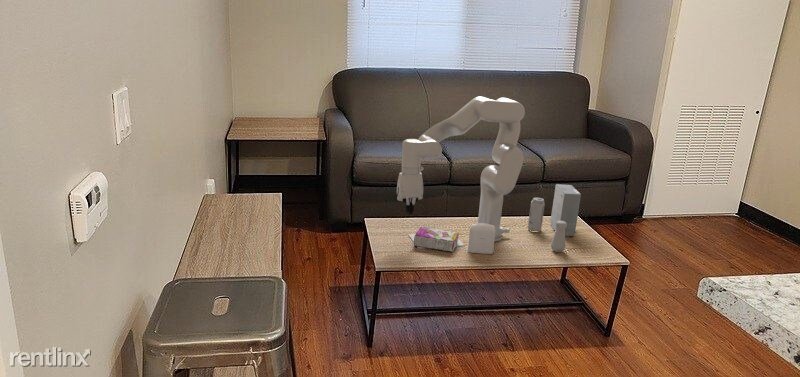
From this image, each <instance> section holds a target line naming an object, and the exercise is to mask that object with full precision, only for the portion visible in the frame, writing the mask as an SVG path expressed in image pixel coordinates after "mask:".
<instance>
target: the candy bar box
mask: <svg viewBox="0 0 800 377" xmlns="http://www.w3.org/2000/svg"><path fill="white" fill-rule="evenodd" d="M414 234H415V236H414V242H413V246H414V247H417V246H419V247H425V248H424V249H433V250H439V251H445V252H450V253H453V252H454V250H455V248H456V247H457V246H456V245H457V243H458V239H459V236H460V234H459V232H458V231H450V230H445V229H438V228H437V229H436V228H431V227H425V226H424V227H423V226H421V227H419V229H418V230H417V232H416V233H414Z"/></svg>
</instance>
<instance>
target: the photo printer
mask: <svg viewBox="0 0 800 377" xmlns="http://www.w3.org/2000/svg"><path fill="white" fill-rule="evenodd" d="M494 241H495V227H494V226H493V225H491V224H487V223H478V222H477V223H473V224H470V228H469V236H468V245H467V247H468V248H467V252H469V253H471V254H487V255H491V254H492V255H493V253H494V249H495V242H494Z"/></svg>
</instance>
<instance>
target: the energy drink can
mask: <svg viewBox="0 0 800 377" xmlns="http://www.w3.org/2000/svg"><path fill="white" fill-rule="evenodd" d="M545 204H546V203H545V199H544V198H542V197H537V196H536V197H533V198H532V200H531V201H530V206H529V207H530V209H529V216H528V223H527V229H528V231H529V230H531V231H540V232H541V230H542V227H543V221H544V220H543V219H544V212H545ZM531 231H530V232H531Z"/></svg>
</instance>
